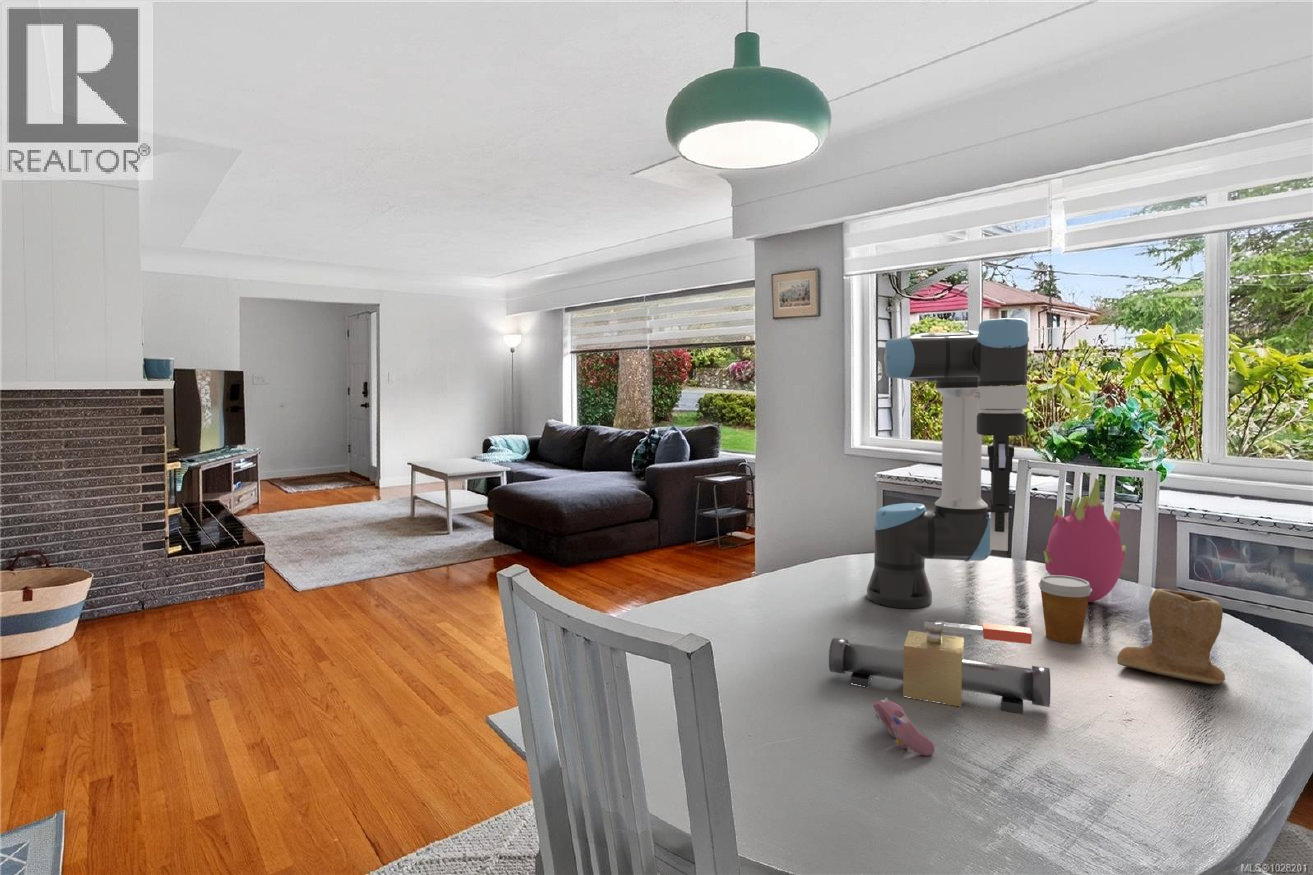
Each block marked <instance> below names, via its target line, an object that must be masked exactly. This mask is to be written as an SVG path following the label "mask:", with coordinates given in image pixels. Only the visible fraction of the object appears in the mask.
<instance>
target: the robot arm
mask: <svg viewBox="0 0 1313 875" xmlns="http://www.w3.org/2000/svg"><path fill="white" fill-rule="evenodd" d="M1028 324H1029V323H1028V322H1027V321H1026V320H1025V319H1024V318H1020V317H1017V318H1013V317H1012V318H1011V317H1010V318H1009V317H1008V318H992V319H986V320H983V321H981V322H980V323H979V325H978V330H965V331H964V330H963V331H960V330H959V331H943V332H942V331H940V332H919V333H913V334H909V335H906V336H905V335H904V336H902V337H898V338H897V337H896V338H889V339H888V340H886V342H885V345H884V354H883V364H884V365H883V366H884V372H885V373H884V374H885V376H886V378H889V379H900V380H901V379H902V380H907V381H912V382H918V383H919V382H920V383H923V382H924V383H925V382H927V383H932V382H933V383H935V390H936V392H938V393H939V395H941V397H942V424H941V425H942V429H941V430H942V432H941V433H942V434H941V435H942V436H941V437H942V438H941V440H942V442H941V444H942V446H941V496H940V497H939V498H938V499H937V500H936V501H935V502H934V510H929V509H927V507H926V506H925V504H923V503H920V502H919V503H918V502H917V503H916V502H915V503H913V502H904V503H894V504H889V505H885V506H882V507H880V508H879V509H877V510H876V511H875V515H874V525H873V530H874V552H873V553H874V556H873V557H874V561H873V562H874V565H873V566H874V567H873V570H872V572H871V575H870V578H869V581H868V584H867V586H866V598H867V597H868V598H867V600H869V601H870V600H871V601H870V602H872V601H873V602H872V603H874V602H875V604H876V605H880V604H882V605H881V606H884V605H885V606H884V607H889V608H894V609H895V608H897V609H919V608H923V607H927V606H929V605H931V604H932V602H933V592H932V589H931V586H930V585H931V584H930V583H929V580H928V576H927V573H926V570H925V569H926V568H925V564H926V563H925V562H926V561H925V560H926V559H928V560H929V559H930V560H947V561H964V562H970V561H971V562H972V561H973V562H976V561H977V562H978V561H979V562H982V561H985V560H987V559H988V558H989V557H990V555H991V552H992V551H1004V552H1008V550H1009V511H1012V510H1013V507H1012V506H1011V505H1009V504H1010V487H1011V486H1010V485H1011V484H1010V482H1011V480H1010V479H1011V473H1012V472H1013V458H1014V457H1015V446H1014V445H1010V437H1013V436H1014V437H1017V436H1018V437H1019V436H1024V435H1025V434H1026V433H1027V414H1026V413H1025V412H1024V410H1026V409H1027V408H1028V382H1027V380H1028V357H1029V356H1028V354H1029V353H1028V352H1029V351H1028V350H1029V342H1030V337H1029V330H1028V328H1029V327H1028ZM983 436H992V444H987V449H986V450H987V455H988V469H989V472H990V474H991V475H990V498H989V499H990V500H989V502H990V506H989V505H988V503H986V502H985V500H983V498H982V493H981V492H982V441H983V440H982V437H983Z"/></svg>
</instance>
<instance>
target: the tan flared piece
mask: <svg viewBox="0 0 1313 875" xmlns="http://www.w3.org/2000/svg"><path fill="white" fill-rule="evenodd" d="M1223 616H1224V615H1223V606H1222V605H1221V603H1220V602H1218V601H1217V600H1215V599H1213V598H1209V597H1208V596H1203V595H1199V594H1196V593H1190V592H1184V591H1180V590H1179V591H1178V590H1172V589H1165V588H1156V589H1155V590H1153V593H1152V595H1151V597H1150V600H1149V603H1148V617H1149V622H1150V623H1149V624H1150V628H1151V639H1152V640H1151V643H1149V645H1146V646H1143V647H1141V646H1140V647H1139V646H1126V647H1123V648H1122V649H1121V650H1120V651H1119V652H1118V655H1117V662H1116V664H1118V665H1120V666H1123V667H1127V668H1132V669H1135V670H1139V671H1142V672H1148V673H1152V674H1157V675H1160V676H1166V677H1169V678H1175V679H1181V680H1186V681H1191V682H1198V683H1202V684H1203V683H1204V684H1210V685H1211V684H1212V685H1218V684H1222V683H1223V682H1224V681H1225V680H1226V674H1225V673H1224V671H1222V669H1221V668H1219V667H1218V666H1216V665H1215V664H1213V663H1212V662H1211V660H1210V655H1211V650H1212V648H1213V646H1214V644H1215V642H1216V641H1217V639H1218V637H1219V634H1220V633H1221V628H1222V624H1223V623H1222V622H1223Z"/></svg>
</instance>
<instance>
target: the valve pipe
mask: <svg viewBox="0 0 1313 875" xmlns="http://www.w3.org/2000/svg"><path fill="white" fill-rule="evenodd" d="M828 652H829V653H828V667H829V671H830V673H836V674H840V675H841V674H842V675H846V673H851V675H850V684H851V683H853V684H857V685H861V686H865V687H864V688H866V687H868V686H869V687H870V685H869V683H870V684H871V682H872V680H871V678H872V679H873V677H879V678H884V679H885V678H887V679H892V680H898V681H902V684H903V685H902V687H903V688H902V696H907V697H911V698H915V699H921V700H928V701H935V702H940V703H945V704H948V705H947V706H950V705H955V706H954V707H956V706H959V707H958V708H962V706H963V705H962V704H963V703H962V702H963V697H964V695H963V694H964V691H966V692H972V693H978V694H984V695H985V694H986V695H991V696H997V697H1001V710H1002V711H1003V712H1009V713H1016V714H1021V715H1024V701H1027V702H1031V705H1032V706H1040V707H1044V708H1045V707H1046V708H1051V707H1050V706H1051V670H1050V668H1049V667H1044V666H1038V665H1031V668H1028V667H1021V666H1015V665H1010V664H1009V665H1007V664H1002V663H1001V664H1000V663H996V662H994V663H993V662H986V661H980V660H973V659H966V658H965V637H962V636H955V635H948V634H947V635H946V634H943V632H941V633H934V632H929V631H926V632H924V631H917V630H908V632H907V634H906V638H905V640H904V644H903V649H895V648H890V647H889V648H888V647H881V646H877V645H876V646H874V645H867V644H859V643H855V642H854V643H853V642H849V639H846V638H839V637H838V638H837V637H832V639H831V640H830V645H829V651H828ZM872 676H873V677H872ZM870 681H871V682H870ZM869 687H868V688H869ZM915 699H914V700H915ZM921 700H920V701H921Z"/></svg>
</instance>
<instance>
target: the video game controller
mask: <svg viewBox="0 0 1313 875" xmlns="http://www.w3.org/2000/svg"><path fill="white" fill-rule="evenodd" d="M872 707H873V709H874V711H875V712H873V718H875V719H876V721H879V720H880V721H881V722H882V723H883V726H885V728H886V730H887V731H888V733H889V734H890V736H891V735H892V736H893V737H894V738H893V737H892V736H891V737H892V738H893V739H895V744H897V745H899V744H900V745H899V746H900V747H901V746H902V747H901V748H902V749H903V750H904V749H906V748H909V749H910V750H911V751H913V752H914V753H916V754H919V755H922V756H924V755H925V756H924V757H930V756H933V754H934V753H935V750H936V749H935V745H934V743H933V742H932V740H930V739H929V738H928V737H926V736H925V735H924V734H922V732H920V731H919V730H918V729H917V728H916V727H915V725H914V724H913V723H912V721H911V720H910V719H909V717H908V716H907V714H906V713H905V711H904V709H903V707H902V706H901V705H899V704H898V703H895V702H892V701H891V700H890V699H888V697H886V698H884V699H879V700H878V701H876V702H873V703H872ZM929 755H930V756H929Z"/></svg>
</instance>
